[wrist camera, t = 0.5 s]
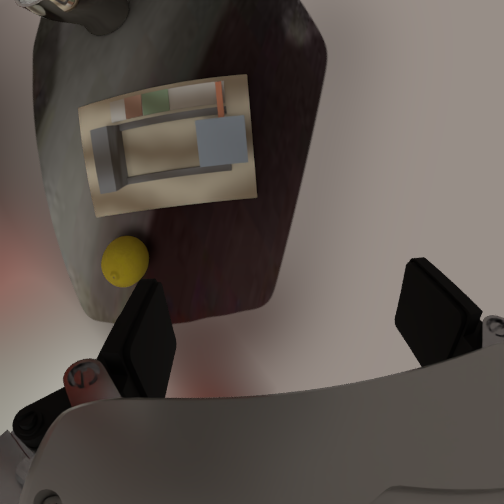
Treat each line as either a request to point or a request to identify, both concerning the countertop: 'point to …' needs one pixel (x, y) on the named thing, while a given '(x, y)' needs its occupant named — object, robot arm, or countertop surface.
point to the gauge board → (162, 147)
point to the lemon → (125, 261)
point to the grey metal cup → (82, 13)
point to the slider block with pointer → (221, 137)
